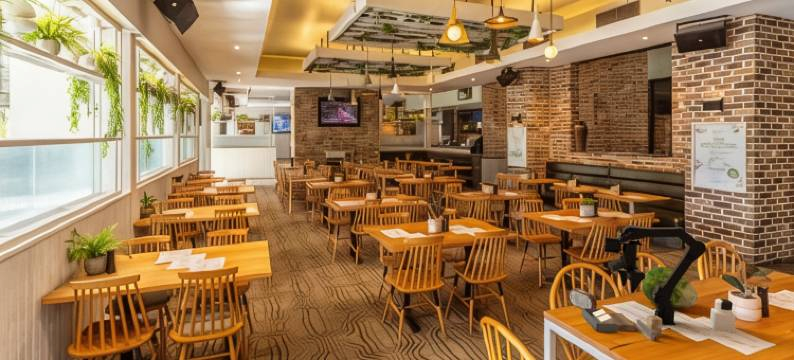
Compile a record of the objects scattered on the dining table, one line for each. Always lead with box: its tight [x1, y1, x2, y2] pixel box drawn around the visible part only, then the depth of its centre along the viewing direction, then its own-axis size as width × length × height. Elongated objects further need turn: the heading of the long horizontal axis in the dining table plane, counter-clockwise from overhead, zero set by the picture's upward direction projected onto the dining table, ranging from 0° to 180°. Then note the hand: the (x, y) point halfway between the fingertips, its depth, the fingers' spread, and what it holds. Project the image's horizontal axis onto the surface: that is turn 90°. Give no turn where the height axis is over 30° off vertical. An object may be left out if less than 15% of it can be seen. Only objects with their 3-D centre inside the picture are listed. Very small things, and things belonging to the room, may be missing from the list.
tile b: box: [598, 314, 614, 323], centre depth 203 cm, size 4×4×2 cm
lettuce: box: [641, 266, 698, 309], centre depth 228 cm, size 19×23×18 cm
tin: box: [568, 287, 598, 310], centre depth 225 cm, size 15×3×8 cm, turn 23°
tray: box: [581, 307, 617, 333], centre depth 206 cm, size 8×18×4 cm, turn 177°
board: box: [606, 312, 637, 332], centre depth 206 cm, size 8×14×2 cm, turn 177°
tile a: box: [593, 308, 607, 322], centre depth 209 cm, size 4×4×2 cm
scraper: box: [635, 315, 663, 342], centre depth 195 cm, size 6×13×7 cm, turn 177°
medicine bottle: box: [709, 298, 737, 333], centre depth 202 cm, size 7×7×12 cm
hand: (627, 289), depth 213 cm, fingers open, 9 cm apart
